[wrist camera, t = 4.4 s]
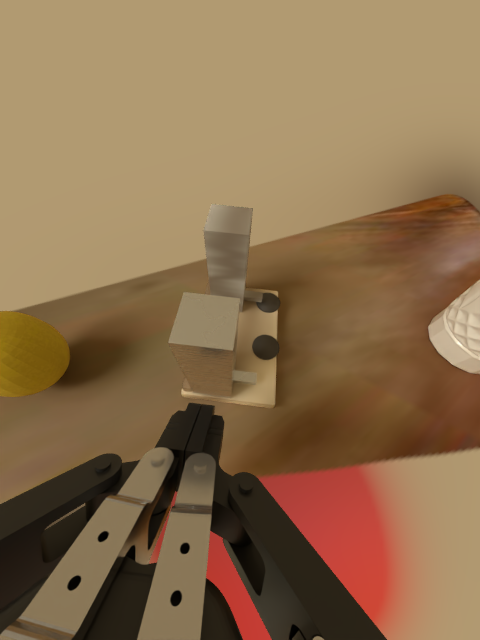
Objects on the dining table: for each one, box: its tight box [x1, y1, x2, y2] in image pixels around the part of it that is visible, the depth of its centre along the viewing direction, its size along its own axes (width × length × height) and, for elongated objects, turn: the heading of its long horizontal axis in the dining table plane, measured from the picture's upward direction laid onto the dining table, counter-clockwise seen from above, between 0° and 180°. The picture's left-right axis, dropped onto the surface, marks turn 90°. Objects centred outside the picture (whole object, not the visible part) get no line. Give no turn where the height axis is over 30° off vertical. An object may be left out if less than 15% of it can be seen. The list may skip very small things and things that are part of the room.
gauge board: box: [181, 204, 280, 408], centre depth 18 cm, size 8×12×10 cm, turn 174°
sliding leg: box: [168, 292, 257, 398], centre depth 15 cm, size 5×3×9 cm, turn 84°
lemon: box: [0, 311, 70, 397], centre depth 16 cm, size 6×6×8 cm
